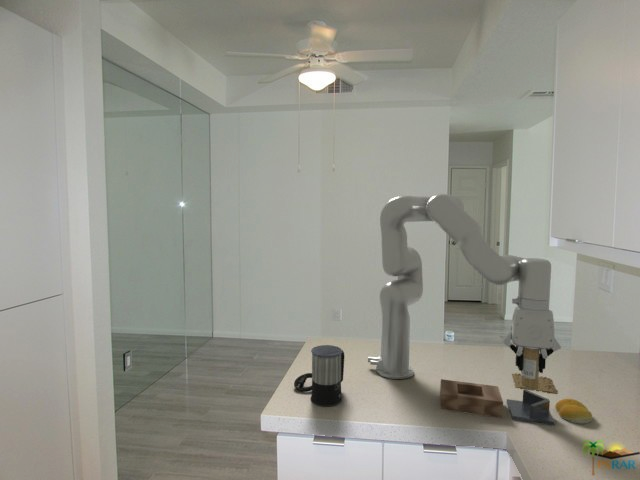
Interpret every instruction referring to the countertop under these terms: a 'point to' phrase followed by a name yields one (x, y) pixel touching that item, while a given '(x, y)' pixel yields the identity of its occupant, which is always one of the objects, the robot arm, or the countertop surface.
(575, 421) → the bread roll
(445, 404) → the wooden block with hole
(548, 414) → the v block
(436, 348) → the countertop surface
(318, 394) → the milk frother
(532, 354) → the sprinkles bottle
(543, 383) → the cookie
